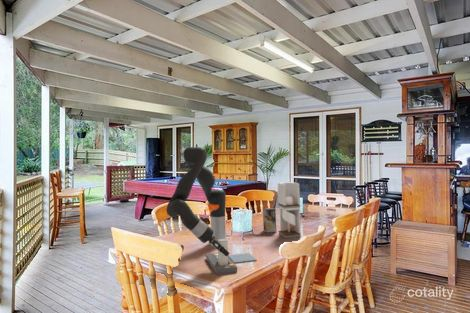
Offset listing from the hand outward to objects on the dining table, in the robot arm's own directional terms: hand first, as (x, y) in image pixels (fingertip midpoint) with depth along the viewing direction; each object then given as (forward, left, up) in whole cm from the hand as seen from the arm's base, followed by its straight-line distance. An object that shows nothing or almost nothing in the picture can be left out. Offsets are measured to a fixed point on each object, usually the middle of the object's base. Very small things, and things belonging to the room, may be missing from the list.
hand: (226, 253), depth 157 cm
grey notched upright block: (-47, +56, -7) cm, 73 cm away
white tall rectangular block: (0, -2, -6) cm, 6 cm away
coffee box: (-62, +48, -7) cm, 79 cm away
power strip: (-7, -2, -7) cm, 10 cm away
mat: (-11, +11, -7) cm, 17 cm away
